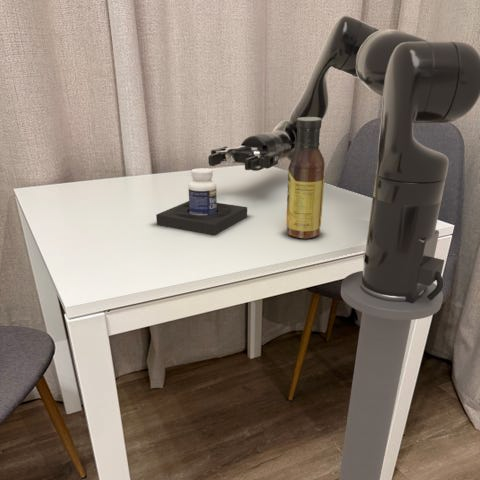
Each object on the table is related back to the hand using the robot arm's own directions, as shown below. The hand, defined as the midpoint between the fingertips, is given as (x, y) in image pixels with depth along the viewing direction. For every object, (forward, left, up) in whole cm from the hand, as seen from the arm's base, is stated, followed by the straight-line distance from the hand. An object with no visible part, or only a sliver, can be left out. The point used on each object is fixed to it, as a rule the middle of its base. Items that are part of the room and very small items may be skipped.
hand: (228, 162), depth 99 cm
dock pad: (-2, +10, -9) cm, 14 cm away
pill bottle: (-2, +10, -9) cm, 14 cm away
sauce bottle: (-22, +5, -9) cm, 24 cm away
